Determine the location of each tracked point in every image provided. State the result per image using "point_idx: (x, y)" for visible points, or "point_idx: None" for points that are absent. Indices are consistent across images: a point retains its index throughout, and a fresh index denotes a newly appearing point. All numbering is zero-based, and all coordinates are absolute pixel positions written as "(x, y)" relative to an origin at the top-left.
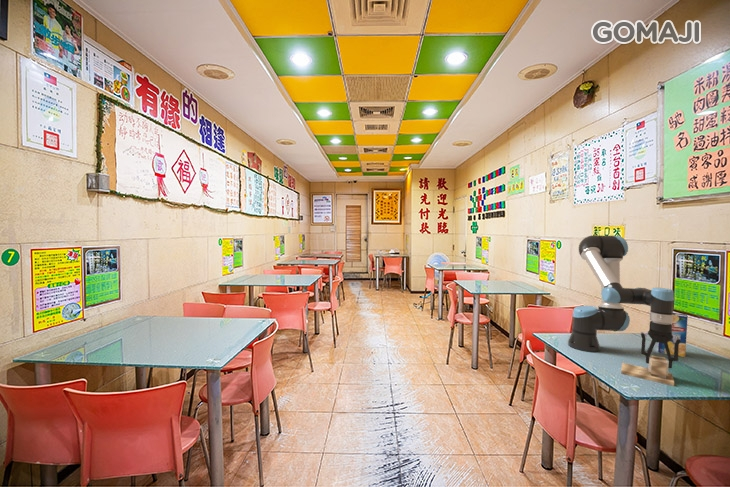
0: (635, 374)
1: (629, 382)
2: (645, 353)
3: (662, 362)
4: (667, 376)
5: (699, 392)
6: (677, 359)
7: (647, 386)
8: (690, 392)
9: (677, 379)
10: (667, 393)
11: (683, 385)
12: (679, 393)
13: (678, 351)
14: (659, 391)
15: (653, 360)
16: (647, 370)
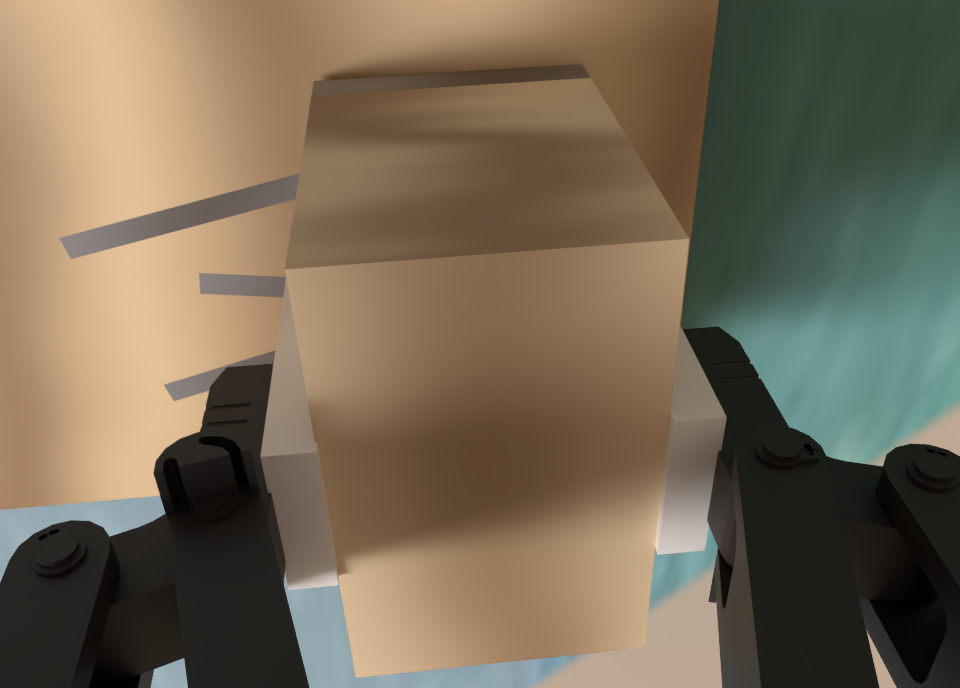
0: (151, 487)
1: (162, 677)
2: (170, 650)
3: (562, 648)
4: None
5: (922, 401)
6: (927, 606)
7: None
8: None
9: (772, 24)
10: (547, 674)
11: (790, 283)
12: (668, 594)
13: None
14: (474, 682)
15: (390, 671)
16: (269, 155)
